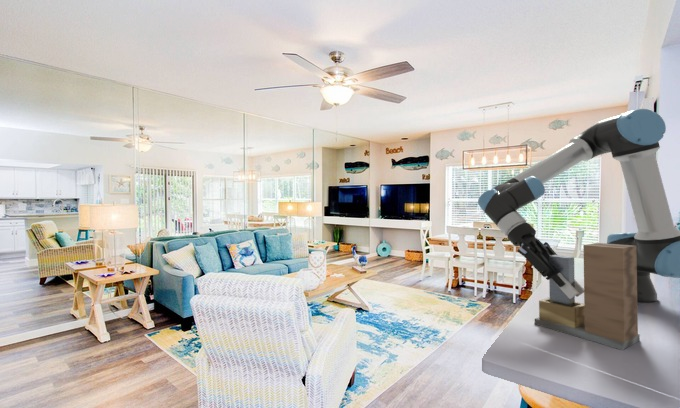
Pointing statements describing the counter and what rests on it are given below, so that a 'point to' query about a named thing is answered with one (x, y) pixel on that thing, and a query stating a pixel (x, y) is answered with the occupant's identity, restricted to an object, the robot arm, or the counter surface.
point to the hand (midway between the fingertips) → (577, 294)
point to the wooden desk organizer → (601, 299)
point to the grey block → (567, 270)
